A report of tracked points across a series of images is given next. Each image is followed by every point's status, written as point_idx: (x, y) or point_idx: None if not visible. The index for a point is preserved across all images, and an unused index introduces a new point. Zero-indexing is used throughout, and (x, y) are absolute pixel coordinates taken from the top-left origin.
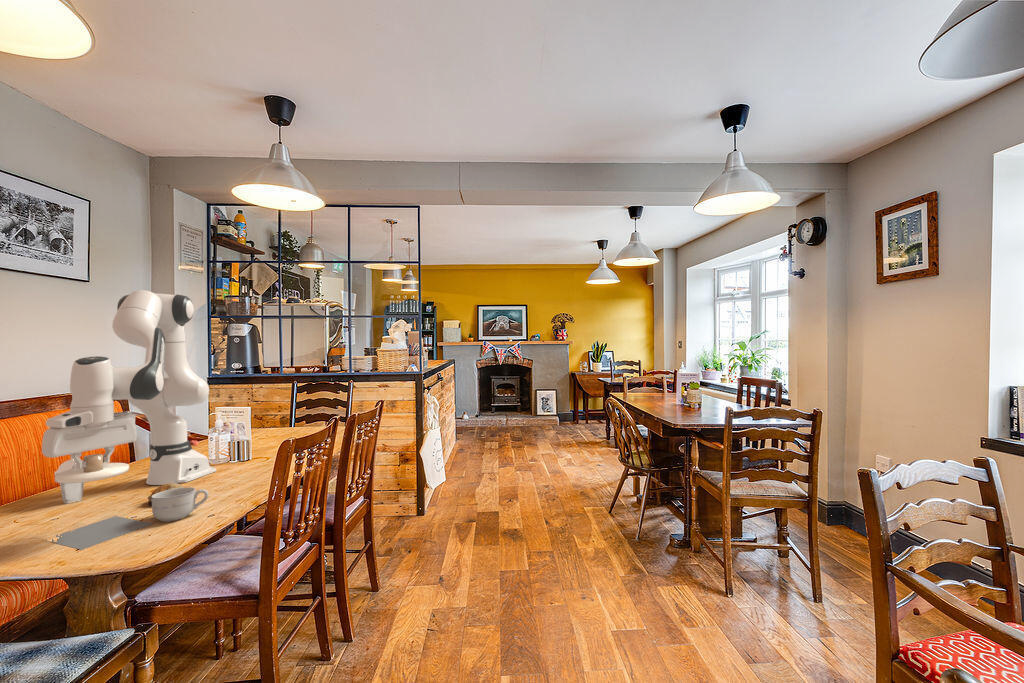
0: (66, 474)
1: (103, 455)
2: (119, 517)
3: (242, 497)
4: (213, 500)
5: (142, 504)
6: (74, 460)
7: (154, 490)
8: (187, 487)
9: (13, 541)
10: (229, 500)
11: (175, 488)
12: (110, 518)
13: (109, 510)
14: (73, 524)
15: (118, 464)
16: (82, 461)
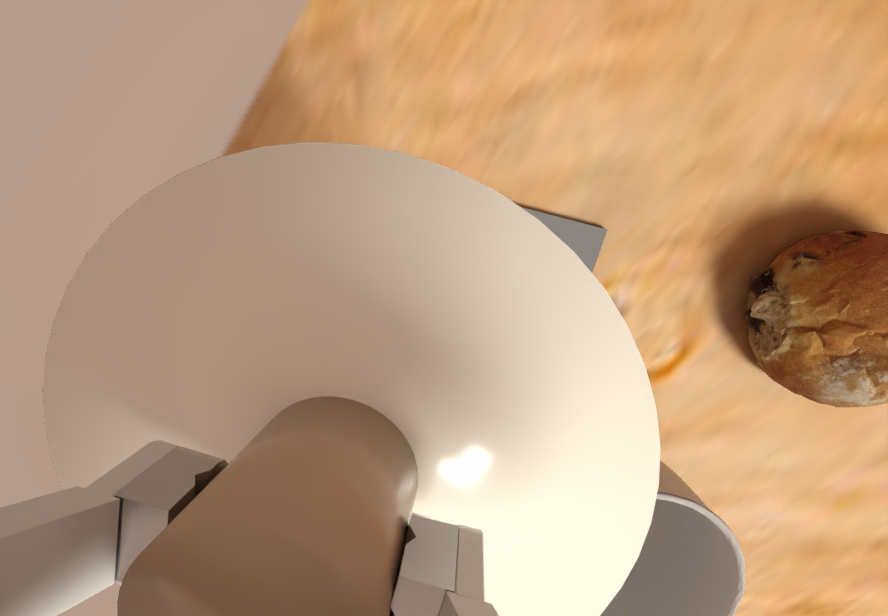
0: (155, 332)
1: (450, 604)
2: (587, 266)
3: (848, 605)
4: (819, 510)
5: (795, 202)
6: (24, 517)
7: (853, 286)
8: (742, 585)
9: (315, 19)
10: (810, 575)
11: (866, 399)
12: (575, 233)
13: (708, 95)
14: (513, 98)
15: (577, 540)
16: (101, 589)
